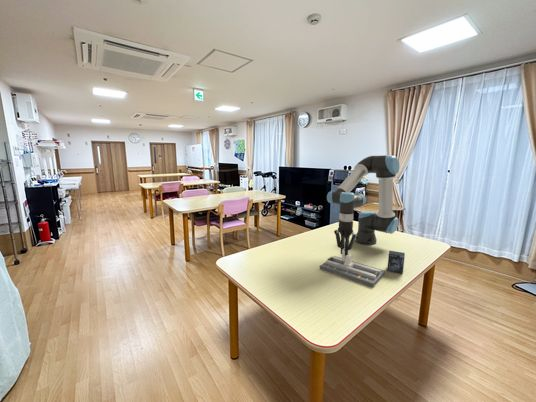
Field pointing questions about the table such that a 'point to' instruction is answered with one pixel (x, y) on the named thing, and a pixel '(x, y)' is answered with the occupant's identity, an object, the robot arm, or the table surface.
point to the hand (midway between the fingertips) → (343, 259)
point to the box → (396, 261)
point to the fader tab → (349, 260)
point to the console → (353, 271)
